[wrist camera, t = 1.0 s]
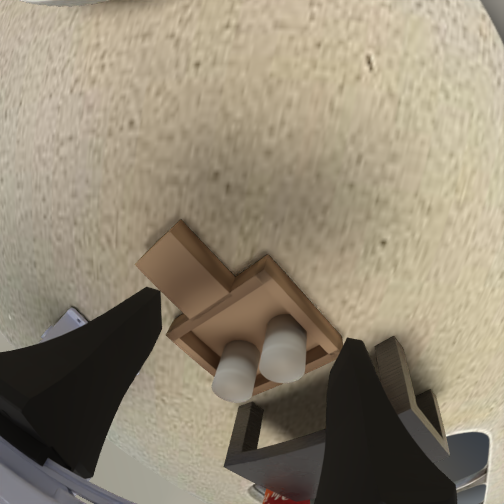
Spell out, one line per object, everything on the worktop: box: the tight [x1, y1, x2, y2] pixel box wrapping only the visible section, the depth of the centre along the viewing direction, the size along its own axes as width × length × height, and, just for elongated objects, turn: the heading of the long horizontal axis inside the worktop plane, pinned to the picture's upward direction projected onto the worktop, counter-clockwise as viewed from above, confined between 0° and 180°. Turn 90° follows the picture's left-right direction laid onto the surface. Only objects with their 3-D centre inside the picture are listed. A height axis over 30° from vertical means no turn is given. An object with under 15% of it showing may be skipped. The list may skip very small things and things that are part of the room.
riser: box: [224, 336, 450, 502], centre depth 24 cm, size 11×17×7 cm, turn 132°
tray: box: [135, 220, 343, 403], centre depth 22 cm, size 14×10×4 cm
